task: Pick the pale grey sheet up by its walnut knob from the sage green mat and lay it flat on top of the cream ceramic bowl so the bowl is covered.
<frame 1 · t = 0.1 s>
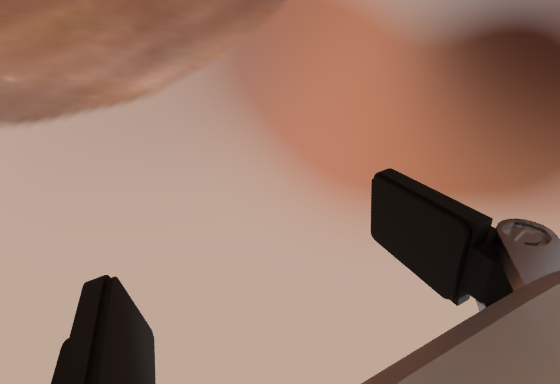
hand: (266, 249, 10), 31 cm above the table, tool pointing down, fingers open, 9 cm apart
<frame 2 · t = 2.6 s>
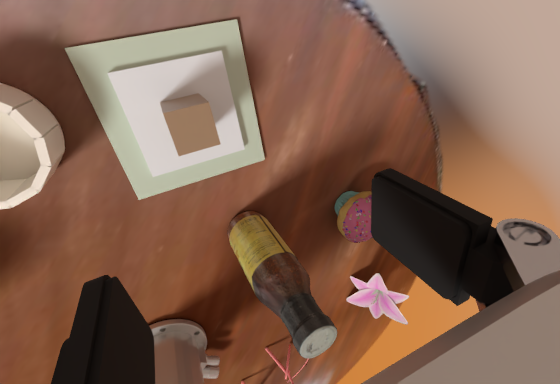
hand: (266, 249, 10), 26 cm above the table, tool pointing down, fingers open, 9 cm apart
bowl: (0, 136, 26), on the table
sauce bottle: (247, 226, 41), on the table
figurine: (278, 365, 59), on the table
mat: (184, 114, 31), on the table
cupcake: (345, 203, 47), on the table
lily: (361, 280, 59), on the table
sheet: (184, 115, 31), resting on mat
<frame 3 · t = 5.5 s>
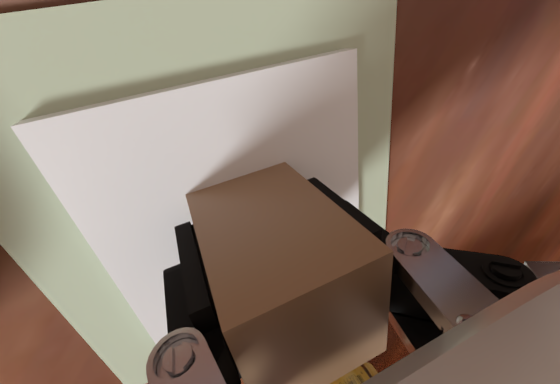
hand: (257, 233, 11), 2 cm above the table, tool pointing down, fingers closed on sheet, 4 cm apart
sauce bottle: (329, 367, 23), on the table
mat: (240, 205, 13), on the table
sheet: (243, 210, 12), resting on mat, touching gripper
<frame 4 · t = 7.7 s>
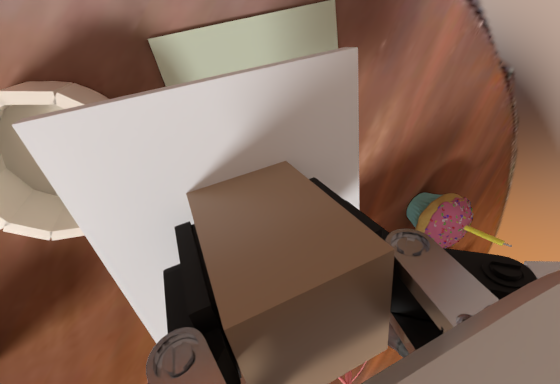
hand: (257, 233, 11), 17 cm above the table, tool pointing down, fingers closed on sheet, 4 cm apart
bowl: (71, 146, 22), on the table
sauce bottle: (318, 236, 37), on the table
mat: (268, 114, 27), on the table
cupcake: (417, 206, 43), on the table
sheet: (243, 209, 12), point 15 cm above the table, touching gripper
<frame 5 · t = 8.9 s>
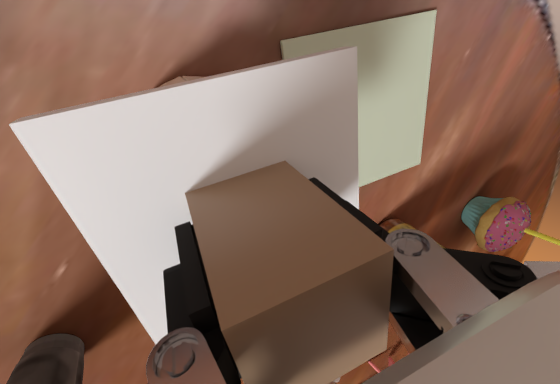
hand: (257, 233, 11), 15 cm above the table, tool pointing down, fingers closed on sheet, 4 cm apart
sauce bottle: (384, 235, 38), on the table
beverage cup: (55, 349, 26), on the table
mat: (363, 114, 28), on the table
cupcake: (470, 209, 44), on the table
sheet: (243, 208, 12), point 13 cm above the table, touching gripper
when the fingers open (9 cm above the table, at t = 10.1 s): sheet drops 2 cm, resting on bowl.
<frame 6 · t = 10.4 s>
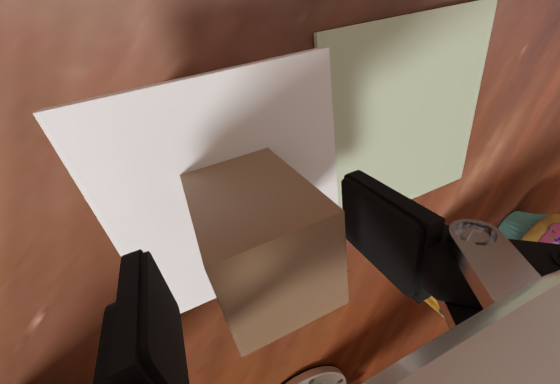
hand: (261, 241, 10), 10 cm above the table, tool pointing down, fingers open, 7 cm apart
mat: (404, 123, 24), on the table
cupcake: (505, 225, 40), on the table
sheet: (232, 191, 14), point 5 cm above the table, touching bowl
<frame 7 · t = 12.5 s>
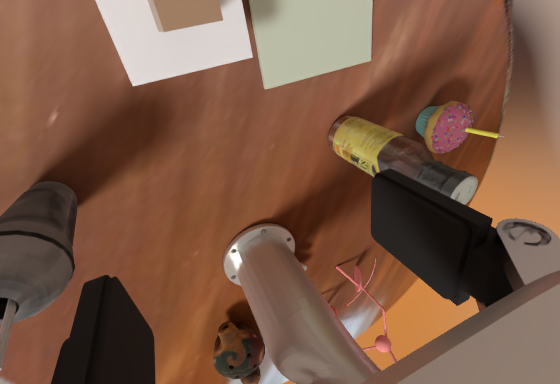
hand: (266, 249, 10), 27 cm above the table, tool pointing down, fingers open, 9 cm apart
sauce bottle: (343, 133, 44), on the table
figurine: (342, 286, 64), on the table
beverage cup: (53, 198, 31), on the table
mat: (314, 1, 33), on the table
cupcake: (424, 120, 50), on the table
decorative turtle: (233, 333, 55), on the table
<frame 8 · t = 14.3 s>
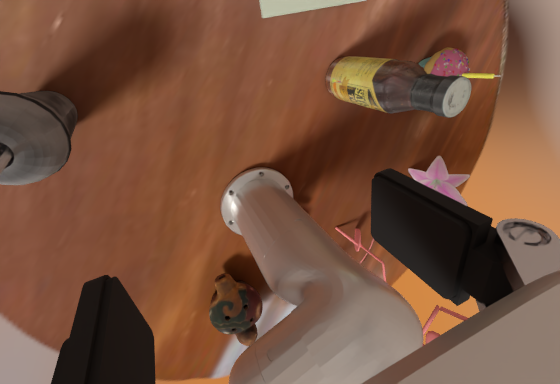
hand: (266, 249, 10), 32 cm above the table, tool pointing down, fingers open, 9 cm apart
sauce bottle: (340, 78, 44), on the table
figurine: (342, 252, 63), on the table
beverage cup: (53, 111, 32), on the table
cupcake: (421, 74, 50), on the table
lily: (417, 176, 62), on the table
decorative turtle: (230, 291, 54), on the table
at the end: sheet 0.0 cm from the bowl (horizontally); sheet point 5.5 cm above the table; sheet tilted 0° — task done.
